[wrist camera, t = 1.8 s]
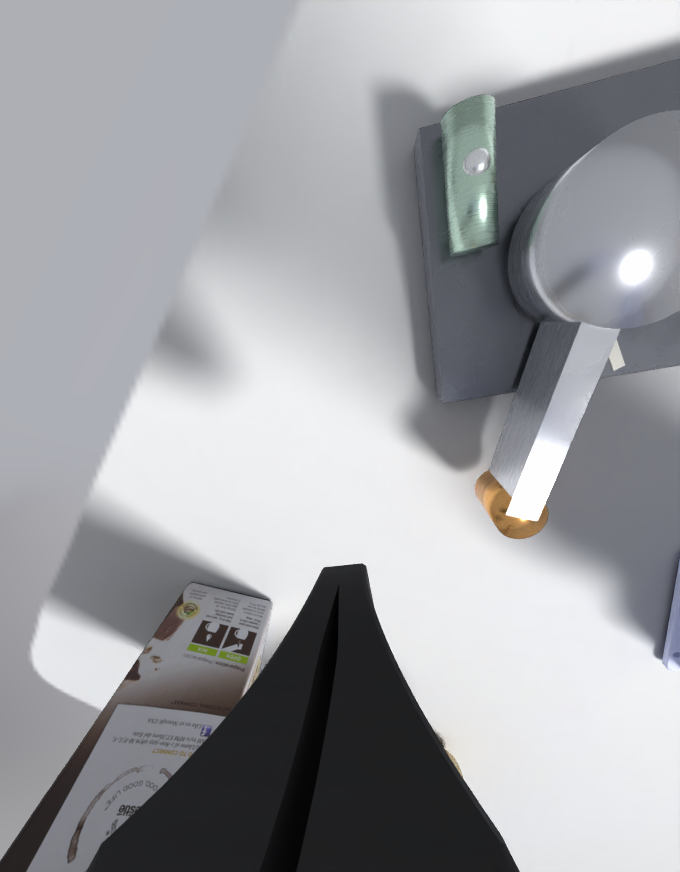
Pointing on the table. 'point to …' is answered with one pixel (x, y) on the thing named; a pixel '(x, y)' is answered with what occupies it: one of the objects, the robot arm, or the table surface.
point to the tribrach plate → (498, 215)
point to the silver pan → (583, 300)
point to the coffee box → (147, 727)
